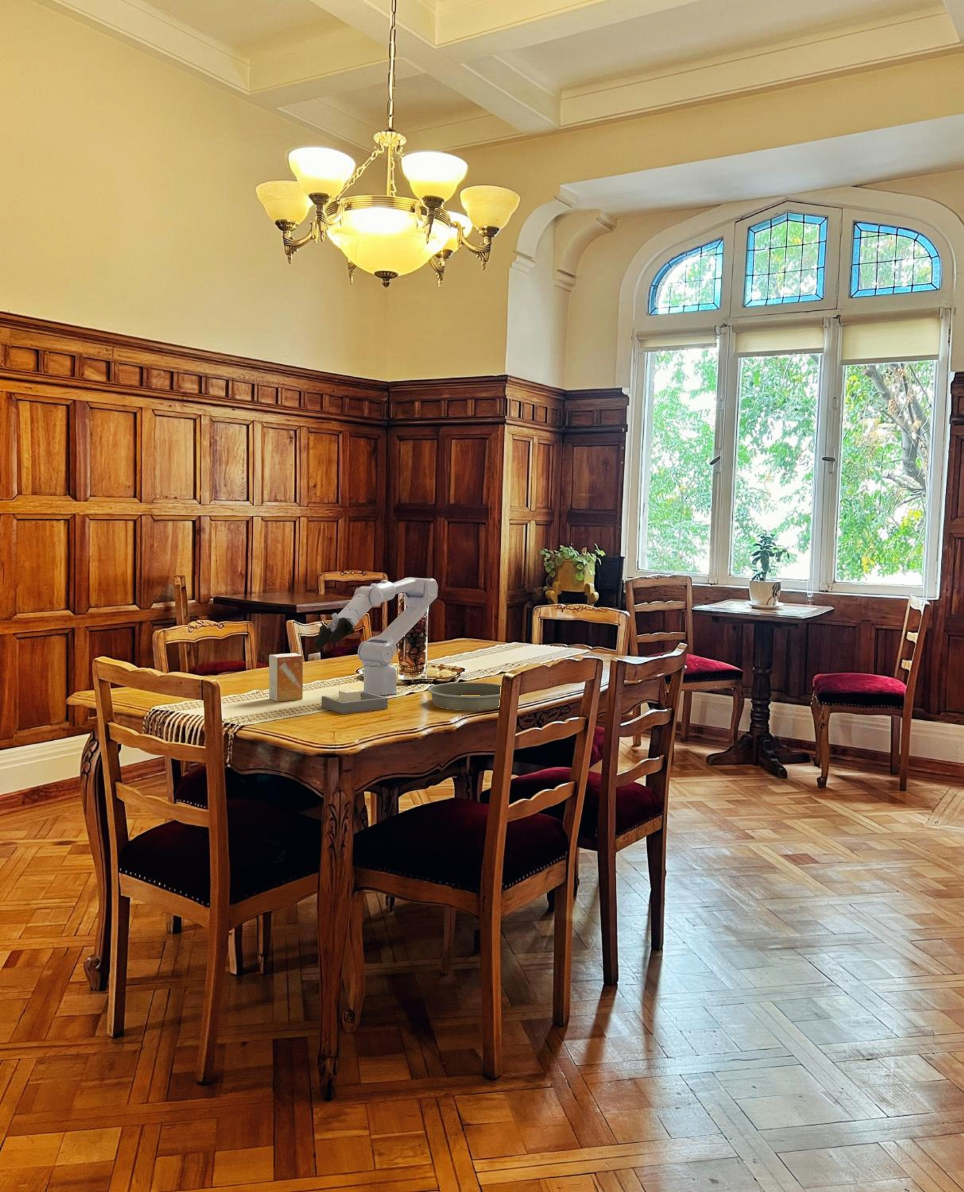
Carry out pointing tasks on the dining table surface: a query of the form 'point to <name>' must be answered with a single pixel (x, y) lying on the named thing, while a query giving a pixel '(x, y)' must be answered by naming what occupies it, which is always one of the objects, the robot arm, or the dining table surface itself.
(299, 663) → the small box
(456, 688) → the cake pan
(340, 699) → the ivory cube
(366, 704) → the gray tray
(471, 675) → the dining table surface
